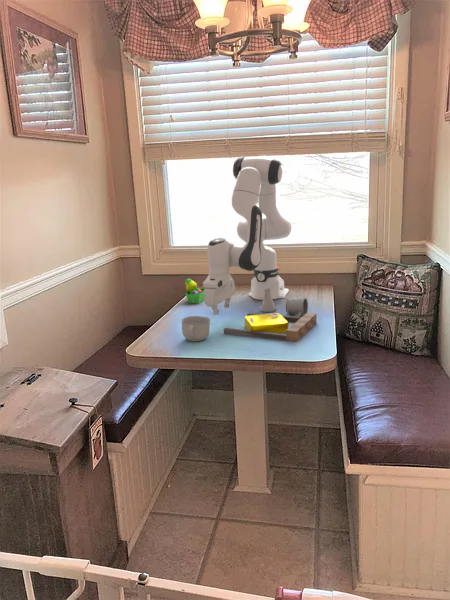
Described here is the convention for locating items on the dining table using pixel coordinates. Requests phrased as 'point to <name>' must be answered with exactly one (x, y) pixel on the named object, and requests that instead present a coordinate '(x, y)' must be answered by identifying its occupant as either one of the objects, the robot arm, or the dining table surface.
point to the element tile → (266, 323)
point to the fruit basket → (194, 292)
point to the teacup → (195, 328)
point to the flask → (267, 302)
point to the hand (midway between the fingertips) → (221, 311)
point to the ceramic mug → (297, 306)
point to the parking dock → (291, 334)
